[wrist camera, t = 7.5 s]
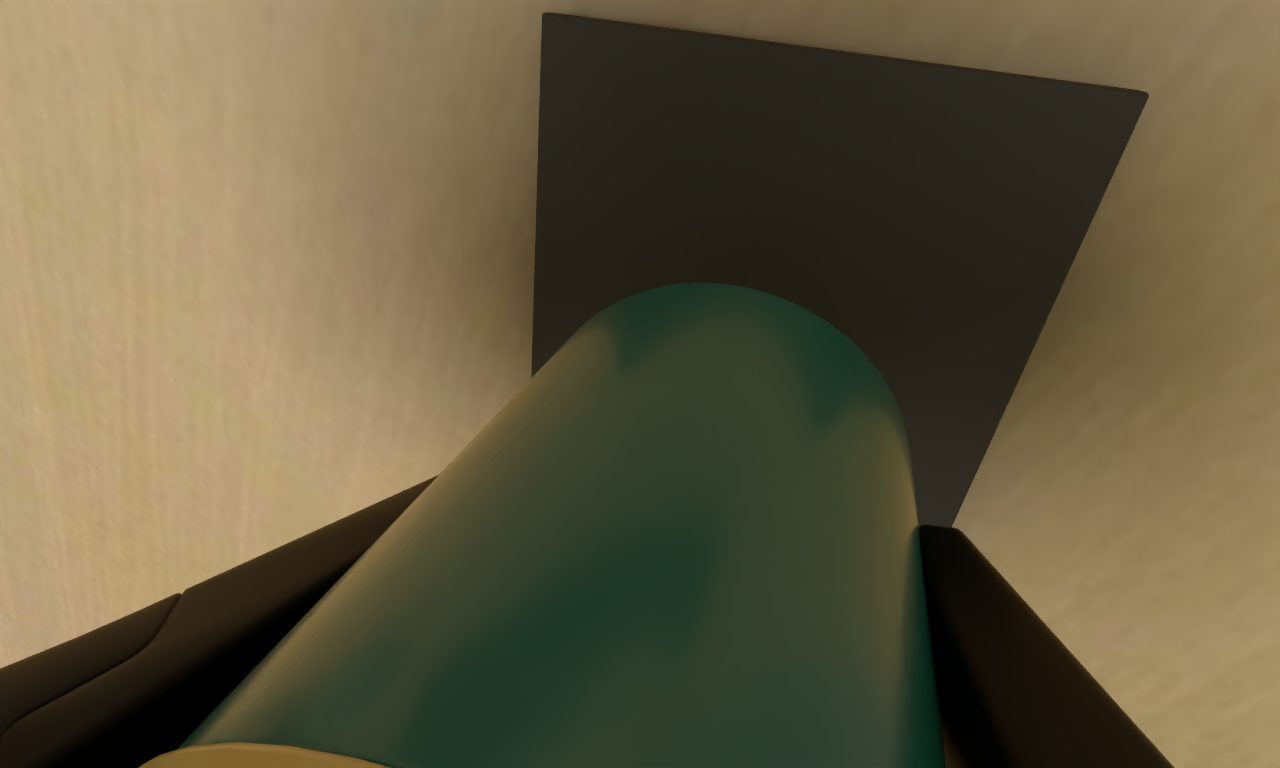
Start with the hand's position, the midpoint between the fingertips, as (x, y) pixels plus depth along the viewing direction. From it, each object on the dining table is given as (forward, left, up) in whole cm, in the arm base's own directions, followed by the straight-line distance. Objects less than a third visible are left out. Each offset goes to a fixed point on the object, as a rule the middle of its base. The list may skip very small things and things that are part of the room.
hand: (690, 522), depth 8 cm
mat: (0, 0, -7) cm, 7 cm away
